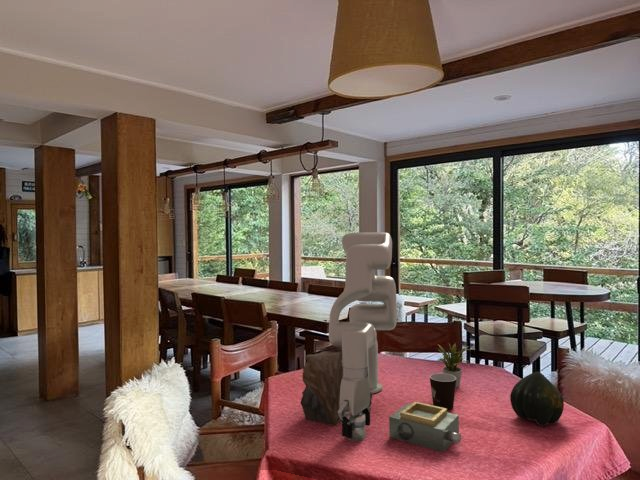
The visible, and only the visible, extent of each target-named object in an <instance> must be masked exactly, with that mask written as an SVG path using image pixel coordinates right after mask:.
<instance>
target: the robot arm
mask: <svg viewBox="0 0 640 480" xmlns="http://www.w3.org/2000/svg"><path fill="white" fill-rule="evenodd" d="M341 245H342V249H343V251H344V253H345V254H346V255H345V258H346V259H345V280H344V281H345V282H344V285H345V286H344V290H343V292H341V294H339V296H338V297H337V298H336V300H335V301H334V303H333V304H332V306H331V308H330V313H329V320H328V322H329V323H328V340H329V343H330V344H331V345H332V346H333V347H336V348H341V352H342V377H343V378H342V380H341V386H340V403H339V410H338V416H339V422H340V423H341V437H344V438H347V439H348V438H350V439H351V438H352V437H353V433H352V424H351V421H352V418H353V416H354V415H356V414H358V413H359V412H361V411H362V412H363V413H364V414H365V426H367V427H369V426H371V409H372V407H371V405H372V403H373V402H372V398H373V395H374V394H377V393H379V392H382V390H383V384H382V383H381V382H379V354H378V353H379V350H378V349H379V348H378V346H379V344H378V339H377V337H378V336H377V335H378V334H377V331H391V330H392V331H393V330H394V329H395V328H396V326H397V323H398V322H397V321H398V318H397V316H398V315H397V313H398V312H397V307H398V306H397V287H396V286H397V285H396V282H395V279H394V278H393V277H391V276H389V275H376V270H378V271H379V270H380V271H382V270H388V269H389V268H390V267H391V265H392V258H393V239H392V236H391V235H390V233H389V232H384V231H383V232H382V231H381V232H380V231H379V232H378V231H377V232H376V231H375V232H372V231H371V232H370V231H369V232H366V231H365V232H362V231H361V232H348V233H346V234H344V235H343V236H342V238H341ZM356 301H357V302H365V303H358V304H354V305H352V306H351V308H350V309H349V311H348V313H349V314H348V318H349V321H339V320H340V319H339V318H340V316H341V315H340V314H341V312H342V311H343V310H344V308H346V307H347V306H349V305H350V304H352V303H354V302H356ZM367 302H369V303H367ZM370 302H372V303H370ZM373 302H374V303H373ZM375 302H376V303H375ZM377 302H378V303H377ZM379 302H381V303H379ZM347 415H349V418H348V419H347Z"/></svg>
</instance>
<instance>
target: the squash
mask: <svg viewBox="0 0 640 480" xmlns="http://www.w3.org/2000/svg"><path fill="white" fill-rule="evenodd" d="M509 399H510V401H509V402H510V405H511V408H512V410H513V412H514V413H515V414H516V415H517V416H518V417H519V418H521V419H524V420H530V421H535V422H536V423H537V425H538V426H542V427H543V426H546V425H552V424H555V423H557V422H558V421H559V420H560V418H561V417H562V415H563V413H564V412H563V411H564V405H565V404H564V402H565V401H564V397H563V395H562V393H561V392H560V391H559V389H558V388H557V387H556V386H555V385H554V384H553V383H552V382H551V381H550V380H549V379H548V378H547V377H546V376H545V375H544V374H543V373H542V372H541V371H538V370H537V371H535V372H534V371H533V372H532V373H530V374H528V375H526V376H524V377H522V378H521V379H519V380H518V381H517V382H516V383H515V384H514V386H513V387H512V389H511V391H510V396H509Z"/></svg>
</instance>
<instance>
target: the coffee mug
mask: <svg viewBox="0 0 640 480" xmlns="http://www.w3.org/2000/svg"><path fill="white" fill-rule="evenodd" d="M429 384H430V390H431V396H432V397H431V398H432V405H433V406H438V407H442V408H447V412H449V411H452V410H453V409H454V403H455V395H456V388H455V387H456V377H455V376H453V375H450V374H445V373H443V372H438V373H432V374H430V375H429Z"/></svg>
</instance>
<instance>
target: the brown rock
mask: <svg viewBox="0 0 640 480" xmlns="http://www.w3.org/2000/svg"><path fill="white" fill-rule="evenodd" d="M305 360H306V362H305V364H304V366H303V369H302V382H303V383H304V385H305V388H304V389H303V391H302V392H301V393H302V396H301V399H300V405H301V407H302V410H303V414H304V420H305V419H306V420H305V421H307V420H310V421H309V422H314V421H315V423H320V424H324V425H329V426H338V425H339V422H340V420H339V416H338V410H339V403H340V386H341V380H342V378H343V377H342V350H341V351H340V350H339V351H337V352H336V351H329V350H323V351H321V352H318V353H315V354H313V353H312V354H311V353H310V354H306V355H305Z"/></svg>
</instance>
